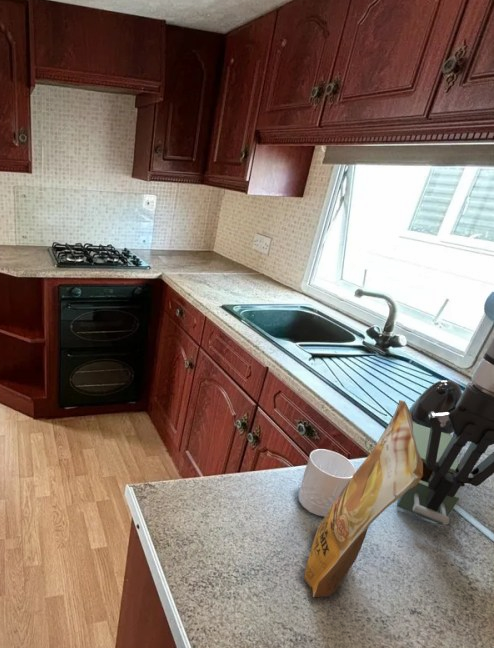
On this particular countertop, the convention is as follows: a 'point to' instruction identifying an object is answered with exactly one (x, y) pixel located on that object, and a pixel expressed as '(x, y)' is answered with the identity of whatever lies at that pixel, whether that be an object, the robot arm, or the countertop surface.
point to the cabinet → (421, 441)
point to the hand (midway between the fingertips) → (431, 504)
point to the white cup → (324, 480)
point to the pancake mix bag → (364, 503)
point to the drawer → (417, 501)
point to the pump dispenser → (436, 403)
